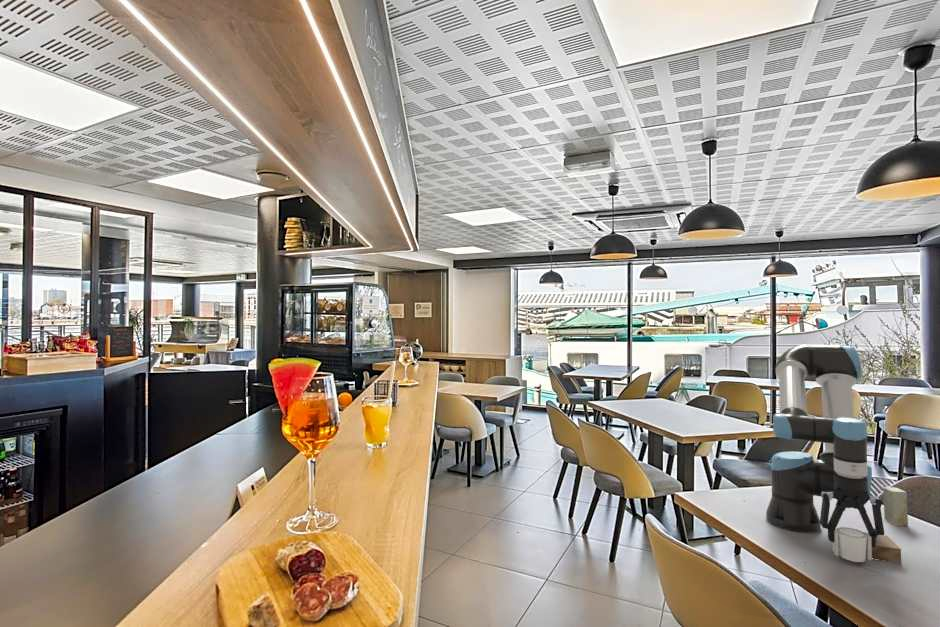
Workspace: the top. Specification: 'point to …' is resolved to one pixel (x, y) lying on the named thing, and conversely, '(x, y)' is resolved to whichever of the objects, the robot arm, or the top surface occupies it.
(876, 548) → the walnut block
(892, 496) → the box
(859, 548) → the white cylinder
